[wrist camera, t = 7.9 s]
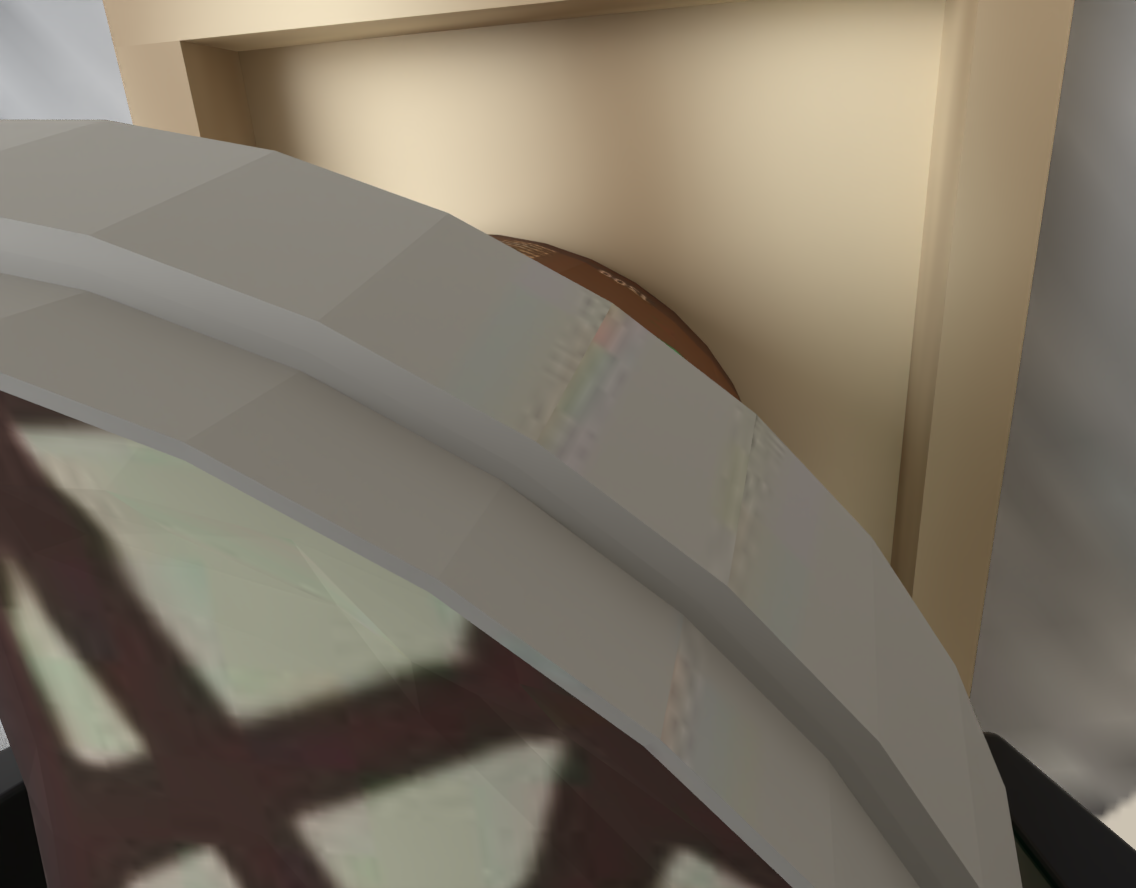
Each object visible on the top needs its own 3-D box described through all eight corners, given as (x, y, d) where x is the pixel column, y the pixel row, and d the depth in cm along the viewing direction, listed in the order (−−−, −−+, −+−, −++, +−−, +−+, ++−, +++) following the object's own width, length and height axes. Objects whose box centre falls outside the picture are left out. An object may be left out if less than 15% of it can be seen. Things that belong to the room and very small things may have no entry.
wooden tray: (368, 848, 18) (331, 926, 17) (186, -11, 12) (93, -38, 10) (899, 903, 16) (924, 999, 14) (1026, -109, 10) (1098, -165, 8)
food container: (822, 794, 15) (1004, 1851, 6) (512, 771, 16) (247, 1624, 7) (864, 95, 10) (1975, -212, 1) (432, 131, 12) (-619, 104, 2)
